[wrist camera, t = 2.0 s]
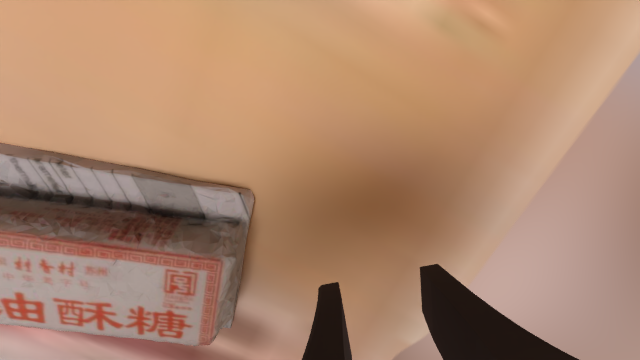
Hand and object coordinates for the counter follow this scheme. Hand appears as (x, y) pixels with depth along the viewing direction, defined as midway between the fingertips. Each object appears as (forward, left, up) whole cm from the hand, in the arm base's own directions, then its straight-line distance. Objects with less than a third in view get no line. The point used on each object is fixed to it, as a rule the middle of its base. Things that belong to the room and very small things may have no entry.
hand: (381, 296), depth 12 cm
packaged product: (0, +15, -9) cm, 18 cm away
